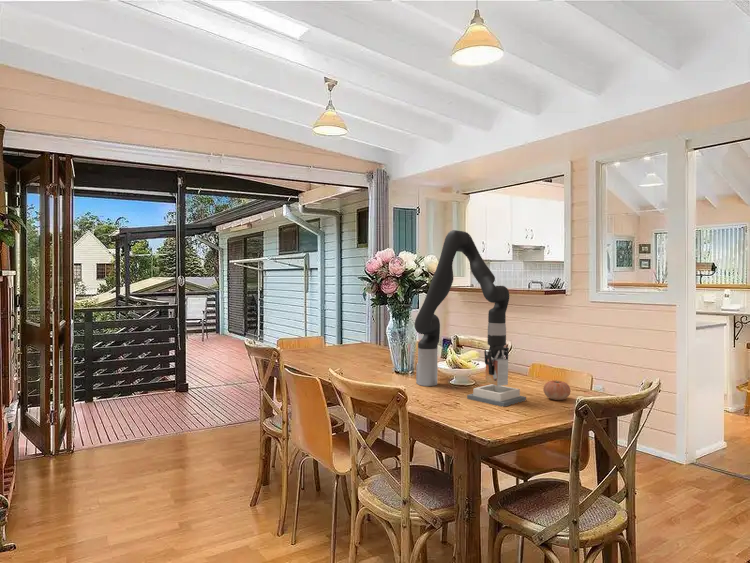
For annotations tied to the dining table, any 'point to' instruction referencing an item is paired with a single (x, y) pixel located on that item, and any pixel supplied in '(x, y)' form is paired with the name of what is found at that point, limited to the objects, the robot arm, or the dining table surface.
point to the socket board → (496, 395)
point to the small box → (498, 372)
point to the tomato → (556, 390)
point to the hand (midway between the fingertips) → (496, 373)
